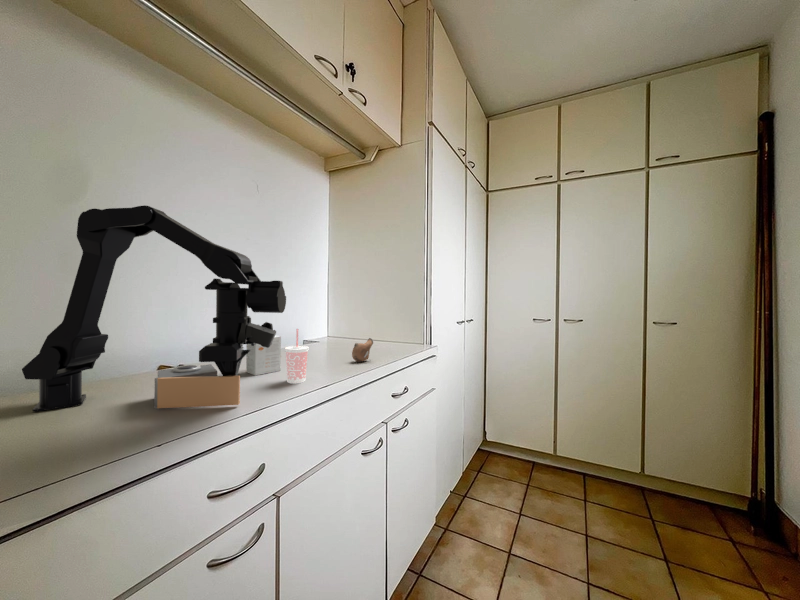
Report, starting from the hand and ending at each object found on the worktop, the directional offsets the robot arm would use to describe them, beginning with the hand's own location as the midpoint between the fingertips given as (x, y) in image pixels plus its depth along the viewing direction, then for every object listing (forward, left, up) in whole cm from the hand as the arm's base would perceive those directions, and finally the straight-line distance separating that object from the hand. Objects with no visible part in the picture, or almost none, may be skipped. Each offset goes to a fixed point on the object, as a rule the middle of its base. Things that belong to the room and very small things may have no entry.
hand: (231, 386), depth 64 cm
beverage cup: (-8, +17, -4) cm, 20 cm away
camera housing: (-9, -7, -4) cm, 12 cm away
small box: (-23, +13, -4) cm, 27 cm away
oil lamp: (-18, +45, -4) cm, 49 cm away
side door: (-1, -6, -3) cm, 7 cm away
